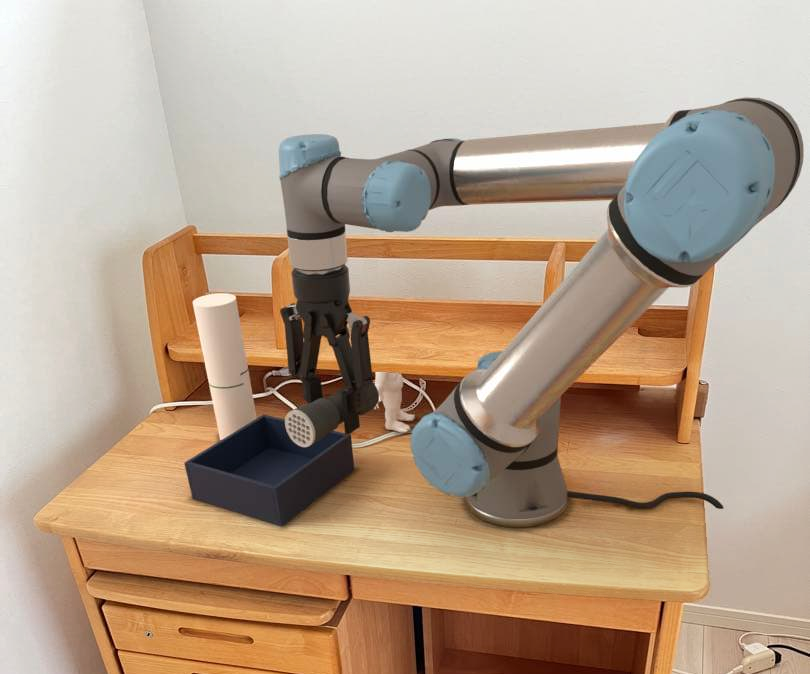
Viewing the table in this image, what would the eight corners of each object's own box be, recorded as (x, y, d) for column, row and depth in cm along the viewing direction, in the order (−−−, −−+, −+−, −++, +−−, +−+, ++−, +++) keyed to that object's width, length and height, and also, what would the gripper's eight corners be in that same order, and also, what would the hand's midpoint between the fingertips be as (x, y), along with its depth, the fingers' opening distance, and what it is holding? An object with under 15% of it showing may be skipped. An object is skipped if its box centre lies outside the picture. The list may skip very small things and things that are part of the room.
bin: (354, 470, 137) (351, 434, 133) (281, 526, 123) (275, 488, 120) (269, 448, 145) (263, 414, 142) (192, 498, 132) (183, 462, 128)
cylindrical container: (266, 430, 151) (244, 295, 137) (243, 447, 146) (217, 308, 132) (235, 424, 154) (210, 291, 140) (211, 440, 149) (183, 304, 135)
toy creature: (406, 440, 145) (402, 376, 138) (372, 438, 146) (367, 375, 139) (419, 411, 154) (415, 350, 148) (387, 410, 156) (383, 349, 149)
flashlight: (356, 403, 128) (353, 370, 125) (383, 411, 125) (381, 378, 122) (287, 441, 118) (282, 407, 115) (314, 451, 115) (311, 416, 112)
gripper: (394, 267, 106) (401, 428, 119) (281, 251, 115) (300, 403, 128) (362, 283, 101) (373, 450, 114) (246, 265, 109) (269, 422, 123)
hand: (334, 425), depth 121 cm, fingers closed on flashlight, 6 cm apart
